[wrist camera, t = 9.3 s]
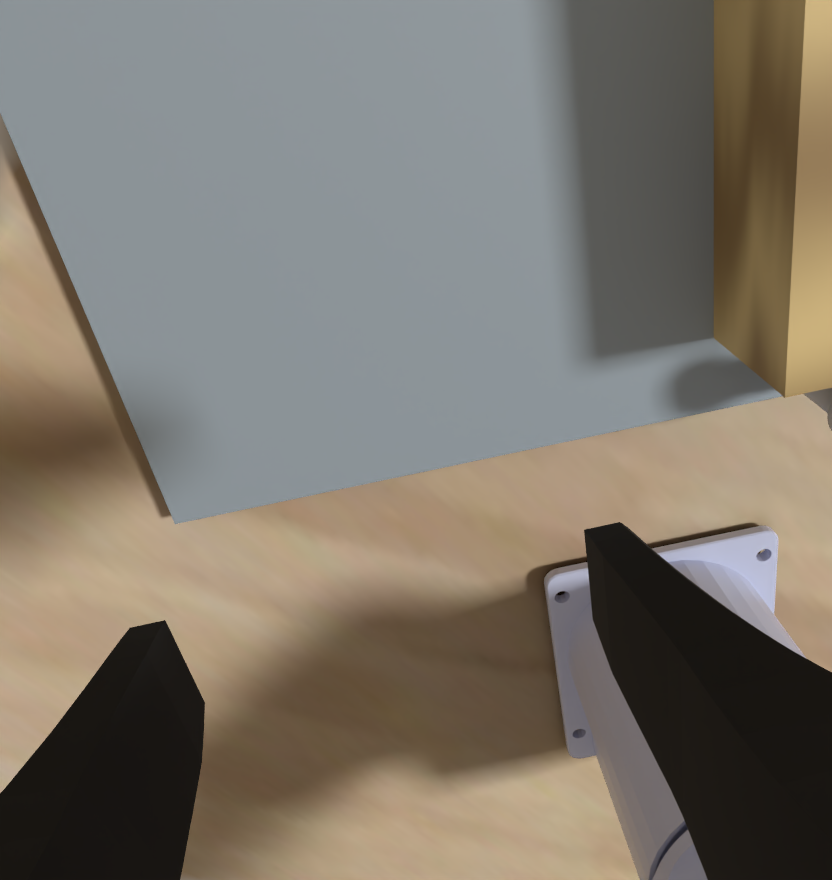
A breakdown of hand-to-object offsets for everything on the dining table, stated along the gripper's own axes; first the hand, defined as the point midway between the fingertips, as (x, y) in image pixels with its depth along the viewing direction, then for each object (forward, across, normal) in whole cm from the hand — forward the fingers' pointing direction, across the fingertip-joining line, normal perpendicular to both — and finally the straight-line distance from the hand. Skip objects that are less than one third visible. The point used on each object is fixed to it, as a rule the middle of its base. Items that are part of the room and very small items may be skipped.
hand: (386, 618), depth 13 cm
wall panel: (+10, -6, -4) cm, 13 cm away
